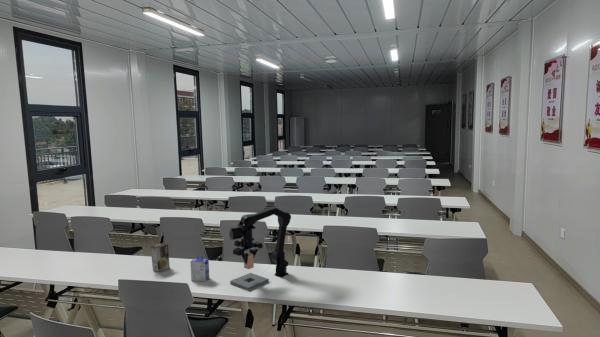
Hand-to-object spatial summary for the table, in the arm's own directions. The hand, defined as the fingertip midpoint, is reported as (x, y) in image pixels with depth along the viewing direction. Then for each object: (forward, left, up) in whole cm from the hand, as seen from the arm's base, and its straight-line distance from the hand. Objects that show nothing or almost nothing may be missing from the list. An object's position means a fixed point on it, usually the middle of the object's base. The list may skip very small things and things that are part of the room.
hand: (248, 262), depth 230 cm
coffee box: (+21, -64, -13) cm, 69 cm away
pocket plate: (0, 0, -12) cm, 12 cm away
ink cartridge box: (+15, -28, -13) cm, 34 cm away
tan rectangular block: (0, 0, -3) cm, 3 cm away
